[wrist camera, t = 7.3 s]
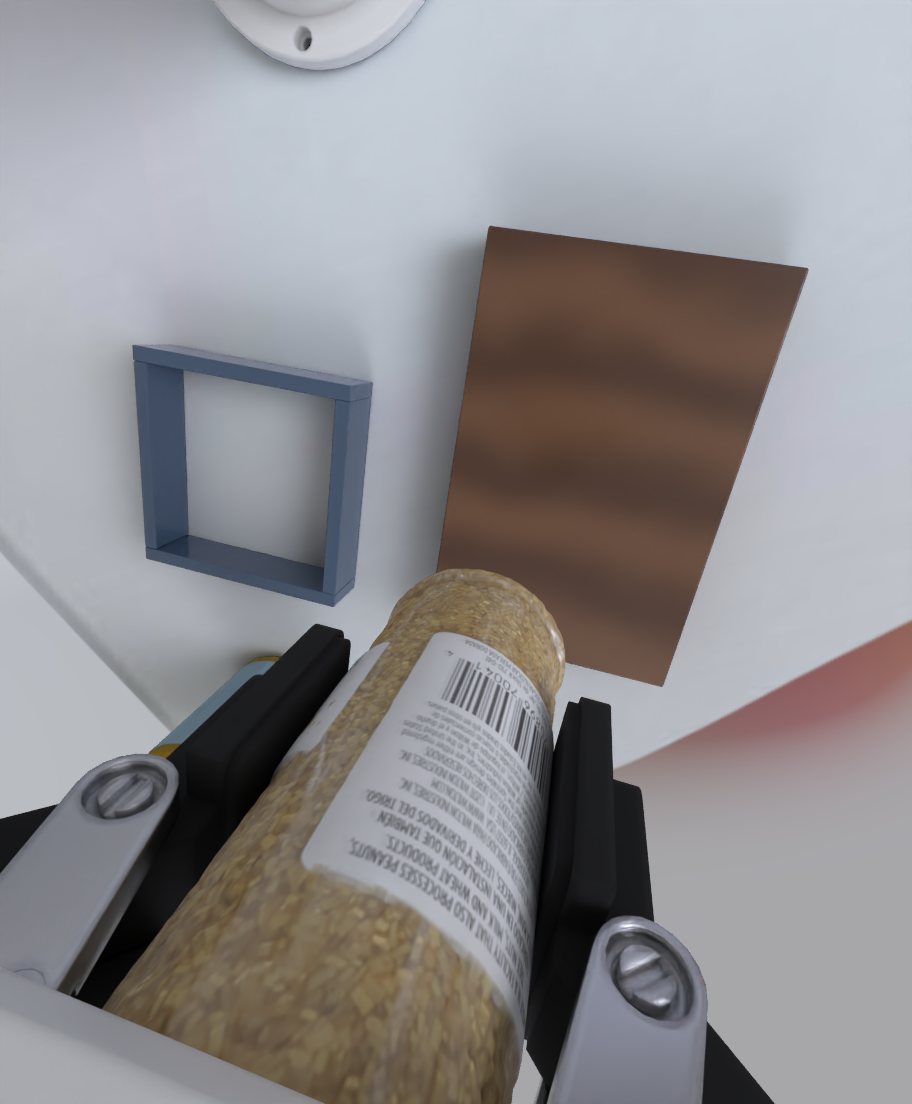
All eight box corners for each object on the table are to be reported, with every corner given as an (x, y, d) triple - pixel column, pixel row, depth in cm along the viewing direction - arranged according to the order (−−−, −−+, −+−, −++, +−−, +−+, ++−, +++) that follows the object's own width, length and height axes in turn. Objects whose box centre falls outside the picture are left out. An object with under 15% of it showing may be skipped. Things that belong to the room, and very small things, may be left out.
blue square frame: (170, 344, 33) (131, 344, 30) (373, 382, 31) (351, 386, 28) (178, 543, 37) (145, 558, 35) (354, 587, 35) (333, 607, 33)
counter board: (499, 237, 27) (488, 225, 24) (786, 276, 25) (810, 267, 22) (441, 604, 34) (427, 627, 32) (657, 658, 32) (662, 688, 29)
